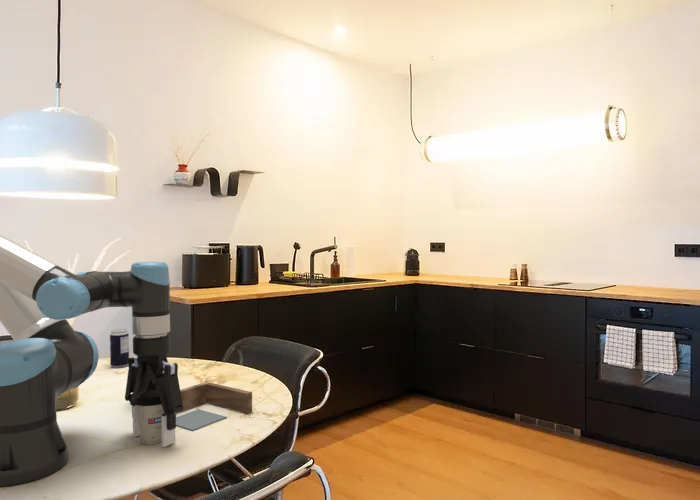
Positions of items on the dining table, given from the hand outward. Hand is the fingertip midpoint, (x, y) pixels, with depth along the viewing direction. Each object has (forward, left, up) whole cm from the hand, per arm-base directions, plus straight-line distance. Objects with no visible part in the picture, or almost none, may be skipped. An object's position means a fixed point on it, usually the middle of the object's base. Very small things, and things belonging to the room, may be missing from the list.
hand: (153, 439), depth 113 cm
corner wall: (+14, +3, 0) cm, 14 cm away
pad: (+13, +2, 0) cm, 13 cm away
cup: (+15, +22, 0) cm, 27 cm away
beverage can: (+33, +64, 0) cm, 72 cm away
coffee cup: (0, 0, 0) cm, 0 cm away
